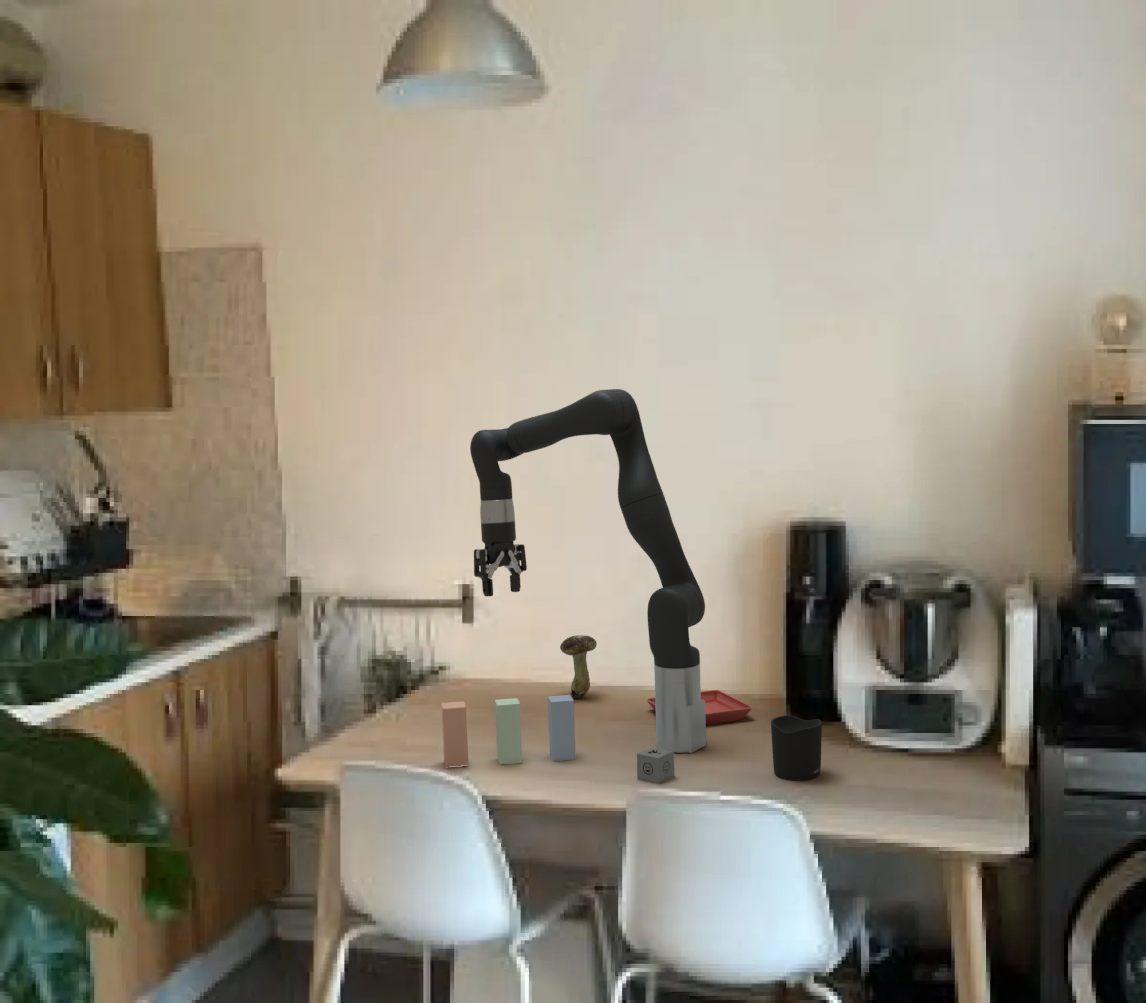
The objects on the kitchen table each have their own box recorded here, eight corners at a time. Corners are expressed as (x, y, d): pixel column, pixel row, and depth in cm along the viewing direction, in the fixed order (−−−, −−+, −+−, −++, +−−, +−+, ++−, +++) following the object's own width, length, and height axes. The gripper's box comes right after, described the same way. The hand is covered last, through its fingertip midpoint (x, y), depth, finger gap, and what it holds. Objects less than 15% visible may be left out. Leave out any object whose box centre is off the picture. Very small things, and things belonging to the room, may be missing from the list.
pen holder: (785, 784, 235) (784, 731, 234) (763, 769, 244) (762, 718, 243) (831, 778, 238) (830, 725, 237) (808, 763, 247) (807, 712, 246)
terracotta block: (466, 759, 257) (463, 701, 255) (468, 766, 252) (465, 707, 251) (444, 761, 256) (441, 703, 255) (445, 768, 252) (442, 709, 250)
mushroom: (598, 702, 296) (596, 638, 295) (561, 703, 297) (558, 640, 295) (598, 692, 306) (596, 630, 304) (562, 693, 306) (559, 631, 304)
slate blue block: (572, 752, 259) (569, 694, 258) (575, 759, 254) (573, 700, 253) (550, 754, 258) (547, 696, 257) (553, 761, 254) (551, 702, 252)
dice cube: (653, 772, 245) (652, 747, 244) (674, 777, 242) (673, 751, 241) (637, 779, 241) (636, 753, 241) (659, 784, 238) (658, 758, 237)
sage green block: (519, 756, 258) (517, 698, 257) (522, 762, 253) (520, 703, 252) (497, 758, 257) (494, 699, 256) (499, 765, 253) (497, 705, 251)
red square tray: (645, 712, 288) (645, 697, 288) (718, 702, 294) (717, 688, 294) (678, 732, 271) (677, 717, 271) (754, 722, 277) (754, 707, 277)
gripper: (487, 522, 273) (492, 598, 273) (532, 517, 284) (536, 590, 284) (462, 523, 278) (467, 597, 278) (507, 518, 289) (511, 590, 289)
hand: (502, 594), depth 281 cm, fingers open, 8 cm apart
